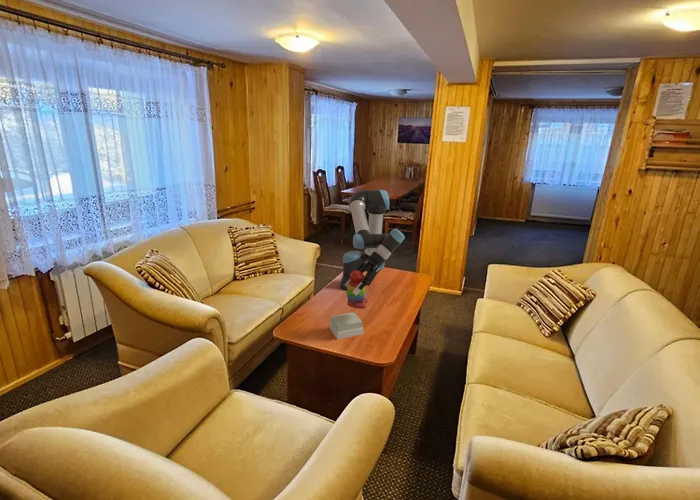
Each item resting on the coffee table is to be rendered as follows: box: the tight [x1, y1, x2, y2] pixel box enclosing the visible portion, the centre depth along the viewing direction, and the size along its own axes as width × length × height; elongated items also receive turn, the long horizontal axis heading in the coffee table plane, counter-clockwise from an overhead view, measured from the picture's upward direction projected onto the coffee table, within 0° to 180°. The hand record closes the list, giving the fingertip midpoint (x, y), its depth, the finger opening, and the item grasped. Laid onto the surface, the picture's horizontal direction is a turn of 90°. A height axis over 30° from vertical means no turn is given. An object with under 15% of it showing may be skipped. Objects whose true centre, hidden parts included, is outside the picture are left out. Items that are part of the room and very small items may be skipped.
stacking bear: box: [346, 269, 369, 310], centre depth 187 cm, size 11×10×18 cm
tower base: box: [328, 311, 364, 340], centre depth 192 cm, size 12×14×7 cm
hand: (350, 290), depth 186 cm, fingers closed on stacking bear, 9 cm apart
